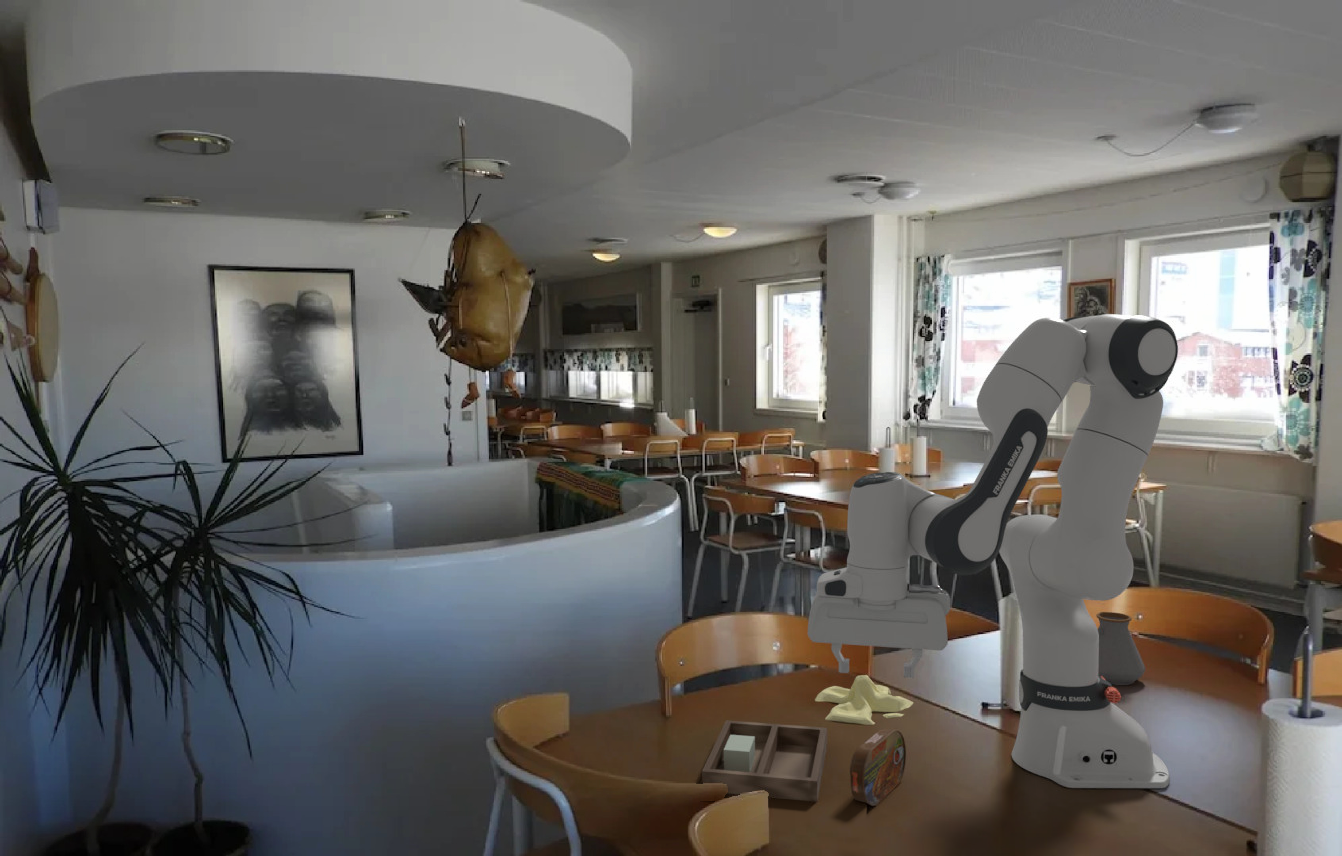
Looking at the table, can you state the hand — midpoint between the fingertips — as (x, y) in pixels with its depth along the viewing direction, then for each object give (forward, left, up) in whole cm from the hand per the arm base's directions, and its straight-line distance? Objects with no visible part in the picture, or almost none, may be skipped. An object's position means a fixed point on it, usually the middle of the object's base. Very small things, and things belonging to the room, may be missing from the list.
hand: (876, 674), depth 135 cm
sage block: (+21, -3, -17) cm, 27 cm away
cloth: (+2, -36, -19) cm, 41 cm away
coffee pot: (-41, -57, -18) cm, 73 cm away
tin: (0, 0, -18) cm, 18 cm away
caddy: (+17, -3, -18) cm, 25 cm away
